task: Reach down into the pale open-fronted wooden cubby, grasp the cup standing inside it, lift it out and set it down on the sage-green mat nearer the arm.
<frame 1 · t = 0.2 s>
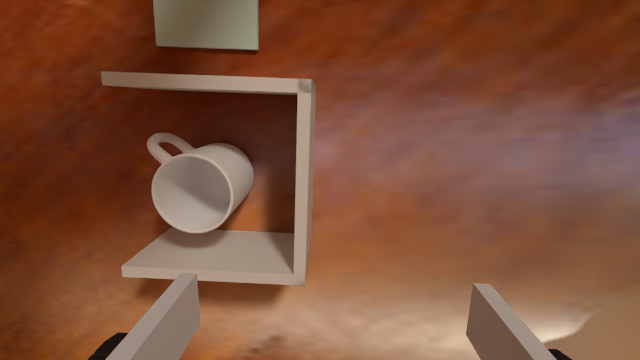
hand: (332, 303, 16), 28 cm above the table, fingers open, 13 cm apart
cubby: (228, 164, 43), on the table
cup: (213, 163, 43), on the table
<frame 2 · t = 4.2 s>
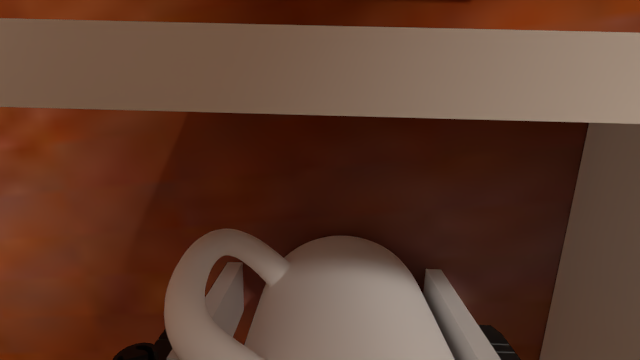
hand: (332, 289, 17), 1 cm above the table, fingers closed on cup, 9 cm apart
cubby: (366, 281, 18), on the table
cup: (316, 278, 18), on the table, touching gripper
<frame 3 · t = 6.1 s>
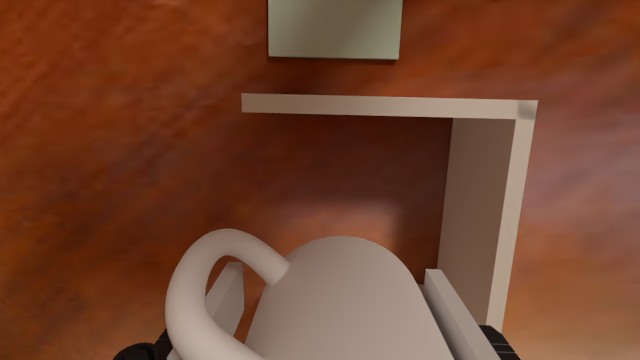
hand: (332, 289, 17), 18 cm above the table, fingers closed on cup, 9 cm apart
cubby: (348, 201, 34), on the table
cup: (316, 278, 18), point 17 cm above the table, touching gripper
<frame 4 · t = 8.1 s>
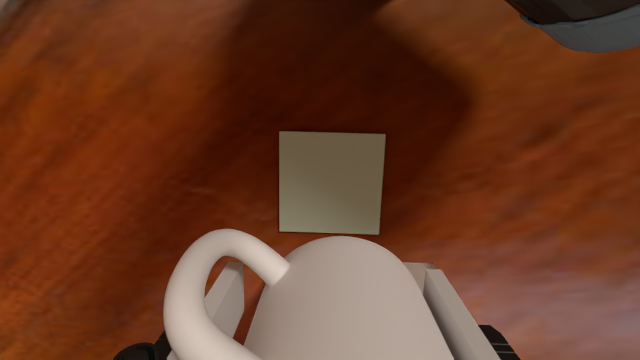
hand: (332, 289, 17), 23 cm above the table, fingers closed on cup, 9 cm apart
cubby: (340, 331, 44), on the table
mat: (330, 183, 39), on the table
cup: (315, 278, 18), point 22 cm above the table, touching gripper
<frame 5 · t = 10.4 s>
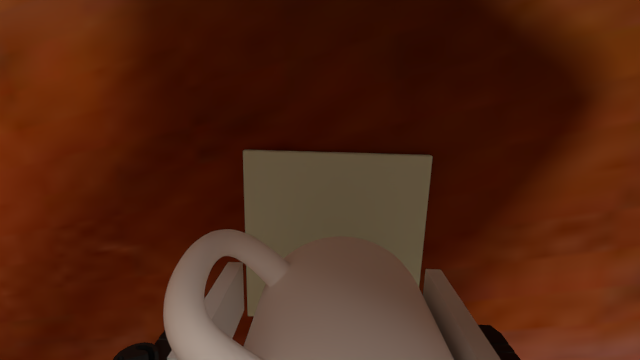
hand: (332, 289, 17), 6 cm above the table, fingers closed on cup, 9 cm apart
mat: (333, 238, 23), on the table
cup: (315, 278, 18), point 5 cm above the table, touching gripper
when the fingers open (2 cm above the table, at t = 12.1 s): cup drops 1 cm, resting on mat.
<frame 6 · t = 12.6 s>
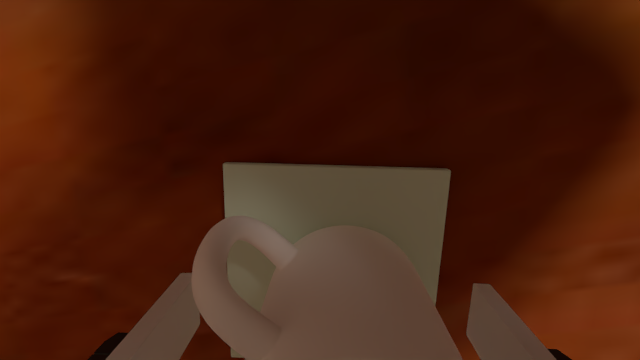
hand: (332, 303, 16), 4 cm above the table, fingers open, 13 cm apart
mat: (332, 266, 19), on the table
cup: (321, 265, 19), resting on mat
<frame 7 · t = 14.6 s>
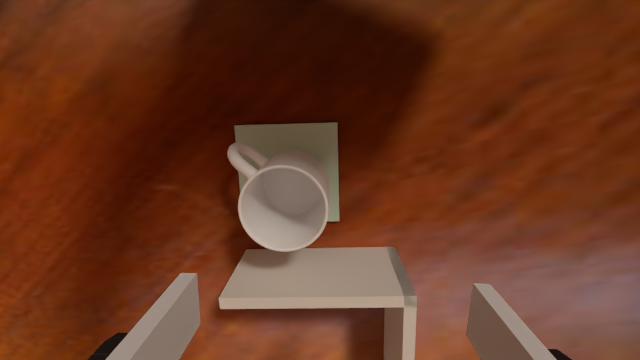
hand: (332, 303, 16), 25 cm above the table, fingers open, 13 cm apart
cubby: (311, 318, 45), on the table
mat: (288, 173, 41), on the table
cup: (283, 172, 40), resting on mat
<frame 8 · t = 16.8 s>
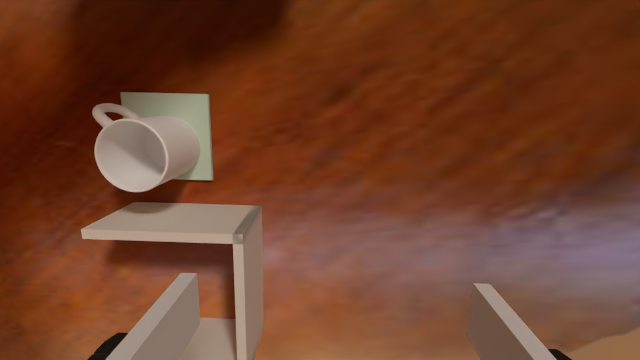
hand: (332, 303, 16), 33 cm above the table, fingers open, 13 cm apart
cubby: (192, 266, 52), on the table
mat: (169, 136, 47), on the table
cup: (163, 135, 47), resting on mat
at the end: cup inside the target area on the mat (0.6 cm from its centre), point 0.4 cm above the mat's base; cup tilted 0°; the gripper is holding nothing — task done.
